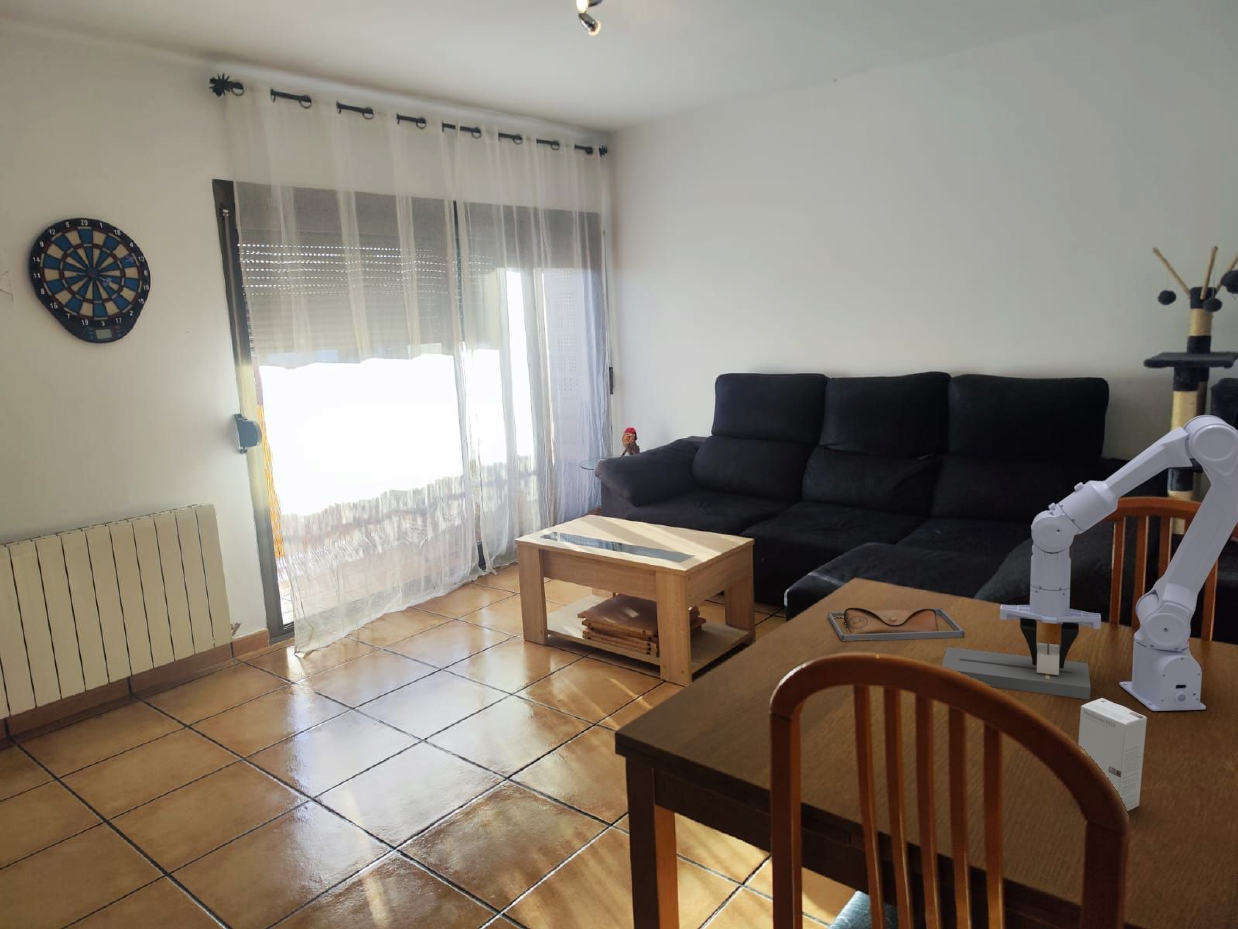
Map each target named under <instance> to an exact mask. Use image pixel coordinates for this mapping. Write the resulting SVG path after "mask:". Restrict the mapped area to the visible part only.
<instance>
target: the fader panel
mask: <svg viewBox="0 0 1238 929" xmlns="http://www.w3.org/2000/svg"><path fill="white" fill-rule="evenodd" d="M942 666H943V667H948V668H950V669H952V670H955V671H958V672H960V673H962V674H965V675H968V676H969V677H971V678H975V679H977V680H979V681H982V682H985V683H986V684H989V685H991V686H992V687H991V688H999V689H1006V690H1007V689H1008V690H1015V691H1021V692H1029V693H1036V694H1037V693H1038V694H1043V695H1044V694H1045V695H1051V696H1059V697H1060V696H1061V697H1066V698H1067V697H1068V698H1074V699H1081V700H1083V699H1084V700H1089V701H1090V700H1091V691H1092V690H1091V678H1090V669H1089V663H1088V662H1081V661H1080V662H1079V661H1072V660H1071V661H1070V660H1065V662H1064V668H1059V675H1054V674H1046V673H1038V672H1037V665H1032V657H1031V656H1028V655H1020V654H1011V653H1003V652H1002V653H1000V652H992V651H984V650H976V649H968V648H967V649H966V648H958V647H949V646H946V650H945V654H944V656H943V659H942V664H941V667H942Z"/></svg>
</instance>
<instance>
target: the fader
mask: <svg viewBox="0 0 1238 929" xmlns="http://www.w3.org/2000/svg"><path fill="white" fill-rule="evenodd" d="M1059 651H1060V644H1052V643H1044V642H1037V672H1038V673H1046V674H1054V675H1059Z"/></svg>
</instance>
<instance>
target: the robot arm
mask: <svg viewBox="0 0 1238 929" xmlns="http://www.w3.org/2000/svg"><path fill="white" fill-rule="evenodd" d="M1190 459H1194V460H1195V461H1197V463H1198V464H1199V465H1201V467H1202V469H1203V472H1204V473H1205V475H1206V477H1207V478H1208V480H1209V482H1210V487H1209V488H1208V491H1207V493H1206V494H1205V496H1204V498H1203V500H1202V502H1201V504H1200V506H1199V508H1198V510H1197V512H1196V513H1195V515H1194V517H1193V519H1192V520H1191V523H1190V524H1189V526H1188V528H1187V531H1186V532H1185V534H1184V536H1183V538H1182V540H1181V542H1180V543H1179V545H1178V547H1177V549H1176V551H1175V553H1174V555H1173V557H1172V559H1171V561H1170V563H1169V564H1168V566H1167V568H1166V570H1165V572H1164V574H1163V575H1162V576H1161V577H1160V578H1159V579H1157V581H1155V584H1154V585H1153V587H1152V588H1151V590H1150V591H1148V592H1147V593H1145V594H1143V595H1142V596H1141V597H1139V599H1138V600H1137V601H1136V605H1135V614H1136V617H1137V619H1138V620H1139V623H1140V627H1139V629H1138V630H1137V631H1136V632H1135V633H1134V634H1133V652H1132V672H1131V681H1120V682H1119V686H1120V687H1122V688H1123V689H1124V690H1125V691H1127V693H1129V694H1130V695H1131V696H1133V697H1134V698H1135V699H1137V701H1139V702H1140V703H1142V704H1143V705H1144V706H1146V707H1147V709H1148V710H1150V711H1153V712H1158V711H1161V712H1162V711H1192V710H1193V711H1197V710H1206V708H1207V706H1206V705H1205V704H1204V703H1202V702H1201V692H1202V691H1201V689H1202V677H1203V675H1202V674H1203V672H1202V667H1201V666H1200V663H1198V661H1197V660H1196V659H1195V658H1194V657H1193V655H1192V653H1191V651H1190V641H1189V638H1190V636H1191V631H1192V629H1191V621H1192V617H1193V615H1194V613H1195V611H1196V607H1197V600H1198V596H1199V593H1200V591H1201V589H1202V588H1203V585H1204V583H1205V582H1206V580H1207V578H1208V577H1209V574H1210V572H1211V571H1212V569H1213V567H1214V565H1215V564H1216V562H1217V560H1218V558H1219V556H1220V555H1221V552H1222V550H1223V549H1224V548H1225V545H1226V544H1227V542H1228V540H1229V538H1230V536H1231V534H1232V532H1233V531H1234V530H1235V526H1236V525H1237V523H1238V429H1236V428H1235V427H1234V426H1232V425H1230V424H1228V423H1227V422H1226V421H1225V420H1224V419H1222V418H1220V417H1218V416H1216V415H1210V414H1203V415H1198V416H1195V417H1193V418H1191V419H1189V420H1188V421H1187V422H1186V423H1185V424H1184V425H1183V426H1182V427H1181V426H1178V427H1176V428H1174V429H1173V430H1171V431H1169V432H1168V433H1166V434H1165V435H1164V436H1162V437H1160V438H1159V439H1158V440H1157V441H1155V442H1153V444H1151V445H1150V446H1149V447H1147V448H1146V449H1144V450H1143V451H1142V452H1141V453H1140V454H1138V455H1137V456H1135V457H1134V458H1133V459H1132V460H1130V461H1129V462H1127V463H1126V464H1125V465H1124V466H1122V467H1120V468H1119V469H1118V470H1117V471H1115V472H1114V473H1113V474H1111V475H1110V476H1109V477H1108V478H1106V479H1105V480H1102V481H1101V480H1099V481H1098V480H1088V481H1087V482H1086V483H1085V484H1083V482H1081V481H1080V482H1079V483H1077V484H1076V485H1075V486H1074V490H1075V491H1073V492H1071V494H1069V495H1068V496H1066V497H1065V498H1063V499H1062V500H1061V501H1059V502H1057V503H1054V502H1052V503H1051V504H1049V505H1048V509H1049V510H1044V511H1041V512H1040V513H1038V514H1037V515H1036V516H1034V519H1033V521H1032V524H1031V525H1030V528H1031V538H1032V541H1033V544H1032V546H1031V552H1032V555H1031V558H1030V587H1029V588H1030V589H1029V590H1030V592H1029V593H1030V595H1029V604H1020V605H1019V604H1017V605H1016V604H1011V605H1010V604H1009V605H1007V604H1001V605H1000V608H999V611H1000V612H999V620H1005V621H1007V620H1018V621H1020V622H1019V627H1020V631H1021V633H1022V635H1023V637H1024V639H1025V641H1026V643H1027V646H1028V649H1029V652H1030V657H1032V665H1037V643H1038V642H1037V629H1038V626H1037V625H1038V623H1045V624H1059V625H1060V643H1059V668H1064V662H1065V661H1066V658H1067V656H1068V653H1069V650H1070V649H1071V647H1072V645H1073V643H1074V642H1075V641H1076V639H1077V638H1078V635H1079V633H1080V627H1081V626H1082V627H1087V628H1088V627H1090V628H1092V629H1094V630H1101V627H1102V626H1101V624H1102V617H1101V613H1097V612H1096V613H1095V612H1088V611H1084V610H1078V609H1073V608H1070V600H1071V599H1070V598H1071V572H1072V571H1071V569H1072V568H1071V565H1072V564H1071V563H1072V559H1071V557H1070V546H1071V545H1072V544H1073V541H1074V537H1075V536H1076V535H1081V534H1082V533H1084V532H1086V531H1087V530H1089V529H1090V528H1091V527H1093V526H1094V525H1096V524H1097V523H1099V522H1101V521H1102V520H1104V519H1105V518H1106V517H1107V516H1109V515H1111V514H1112V513H1114V512H1116V511H1117V509H1118V504H1119V498H1121V497H1123V496H1124V495H1125V494H1127V493H1129V492H1131V491H1132V490H1134V489H1135V488H1136V487H1138V486H1140V485H1141V484H1143V483H1145V482H1146V481H1148V480H1150V479H1151V478H1153V477H1155V476H1157V475H1158V474H1159V473H1161V472H1163V471H1164V470H1166V469H1167V468H1185V467H1187V468H1188V467H1193V464H1192V461H1191V460H1190Z"/></svg>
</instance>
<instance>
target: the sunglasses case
mask: <svg viewBox="0 0 1238 929" xmlns="http://www.w3.org/2000/svg"><path fill="white" fill-rule="evenodd" d="M912 609H913V610H912ZM914 609H915V608H907V609H905V608H862V607H848V608H846V609H845V610H844V611H843V612H844V618H843V622H844V621H845V623H846V626H847V628H848V630H849V632H850V633H854V634H878V633H905V632H932V631H940V630H939V626H938V622H937V615H936V611H935V610H933V609H931V608H917V609H918V610H914ZM846 626H845V627H846Z"/></svg>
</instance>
